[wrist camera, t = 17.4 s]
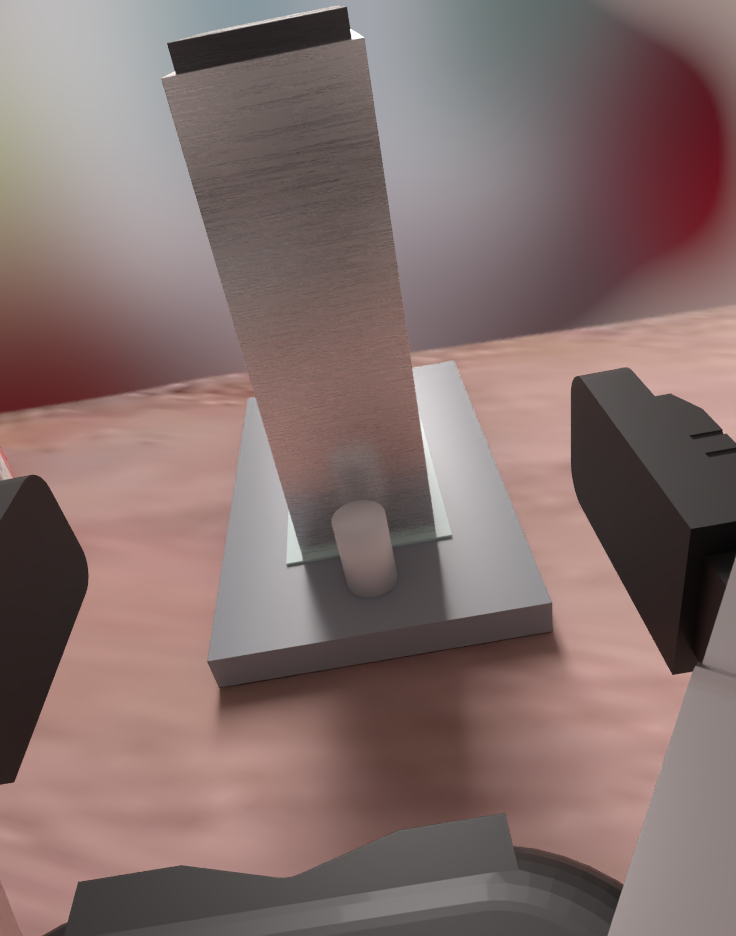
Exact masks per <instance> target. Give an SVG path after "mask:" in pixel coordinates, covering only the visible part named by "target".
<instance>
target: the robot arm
mask: <svg viewBox="0 0 736 936" xmlns="http://www.w3.org/2000/svg"><path fill="white" fill-rule="evenodd" d="M571 470H572V478H573V484H574V488H575V492H576V495H577V498H578V501H579V503H580V505H581V507H582V509H583V511H584V513H585V515H586V516H587V518H588V520H589V522H590V524H591V526H592V527H593V529H594V531H595V533H596V535H597V537H598V538H599V540H600V542H601V544H602V546H603V548H604V550H605V551H606V553H607V555H608V557H609V559H610V561H611V562H612V564H613V566H614V568H615V570H616V572H617V573H618V575H619V577H620V579H621V581H622V583H623V584H624V586H625V588H626V590H627V592H628V594H629V596H630V597H631V599H632V601H633V603H634V605H635V607H636V608H637V610H638V612H639V614H640V616H641V618H642V619H643V621H644V623H645V625H646V627H647V629H648V631H649V632H650V634H651V636H652V638H653V640H654V642H655V643H656V645H657V647H658V649H659V651H660V653H661V654H662V656H663V658H664V660H665V662H666V664H667V666H668V667H669V669H670V671H671V673H672V675H675V674H680V673H686V672H692V671H693V673H692V675H691V678H690V681H689V684H688V687H687V690H686V693H685V697H684V700H683V703H682V706H681V709H680V712H679V715H678V718H677V721H676V724H675V728H674V731H673V734H672V737H671V740H670V743H669V746H668V749H667V752H666V755H665V759H664V762H663V765H662V768H661V771H660V774H659V777H658V780H657V783H656V787H655V790H654V793H653V796H652V799H651V802H650V805H649V808H648V811H647V814H646V818H645V821H644V824H643V827H642V830H641V833H640V836H639V839H638V842H637V845H636V849H635V852H634V855H633V858H632V861H631V864H630V867H629V870H628V873H627V877H626V880H625V883H624V885H623V884H622V883H620V882H619V881H617V880H615V879H613V878H612V877H610V876H608V875H606V874H604V873H602V872H600V871H598V870H596V869H594V868H592V867H590V866H588V865H585V864H583V863H580V862H577V861H575V860H572V859H570V858H567V857H564V856H561V855H557V854H554V853H550V852H546V851H542V850H538V849H532V848H524V847H516V846H513V844H512V840H511V836H510V832H509V828H508V824H507V819H506V815H505V813H502V814H496V815H490V816H484V817H477V818H471V819H465V820H459V821H453V822H447V823H440V824H434V825H428V826H422V827H416V828H409V829H403V830H398V831H396V832H393V833H391V834H389V835H387V836H384V837H382V838H380V839H378V840H375V841H373V842H371V843H369V844H366V845H364V846H362V847H360V848H357V849H355V850H353V851H351V852H348V853H346V854H344V855H342V856H339V857H337V858H335V859H333V860H330V861H328V862H326V863H324V864H321V865H319V866H317V867H315V868H312V869H310V870H308V871H306V872H303V873H301V874H299V875H296V876H293V877H287V878H276V877H268V876H260V875H252V874H245V873H237V872H229V871H221V870H213V869H206V868H198V867H190V866H182V865H181V866H175V867H168V868H162V869H156V870H150V871H144V872H137V873H131V874H125V875H119V876H113V877H107V878H100V879H94V880H88V881H82V882H78V885H77V889H76V892H75V896H74V900H73V904H72V908H71V911H70V915H69V919H68V922H67V923H65V924H63V925H60V926H59V927H57V928H55V929H53V930H52V931H50V932H48V933H46V934H45V935H43V936H736V443H735V442H734V441H733V440H732V439H731V438H730V437H729V436H728V435H727V434H723V432H722V429H721V428H720V427H719V425H718V424H717V423H716V422H715V421H714V420H713V419H712V418H711V417H710V416H709V415H708V414H707V413H706V412H705V411H704V410H703V409H702V408H700V407H697V406H695V405H693V404H691V403H689V402H687V401H685V400H683V399H681V398H678V397H676V396H674V395H672V394H666V395H660V396H654V395H653V394H652V393H651V391H650V390H649V389H648V388H647V387H646V386H645V385H644V384H643V382H642V381H641V380H640V379H639V378H638V377H637V376H636V374H635V373H634V372H633V371H632V370H631V369H629V368H620V369H614V370H609V371H603V372H598V373H593V374H587V375H582V376H576V377H575V378H574V379H573V382H572V387H571ZM87 587H88V566H87V561H86V557H85V555H84V552H83V550H82V548H81V546H80V544H79V542H78V540H77V538H76V537H75V535H74V533H73V531H72V529H71V527H70V525H69V523H68V522H67V520H66V518H65V516H64V514H63V512H62V510H61V508H60V507H59V505H58V503H57V501H56V499H55V497H54V495H53V493H52V492H51V490H50V488H49V486H48V485H47V483H46V482H45V481H44V480H43V479H42V478H41V477H39V476H37V475H29V476H23V477H18V478H12V479H7V480H1V481H0V785H1V784H7V783H13V782H14V781H15V779H16V776H17V774H18V771H19V768H20V766H21V763H22V760H23V758H24V755H25V752H26V750H27V747H28V745H29V742H30V739H31V737H32V734H33V731H34V729H35V726H36V723H37V721H38V718H39V715H40V713H41V710H42V708H43V705H44V702H45V700H46V697H47V694H48V692H49V689H50V686H51V684H52V681H53V678H54V676H55V673H56V671H57V668H58V665H59V663H60V660H61V657H62V655H63V652H64V649H65V647H66V644H67V641H68V639H69V636H70V634H71V631H72V628H73V626H74V623H75V620H76V618H77V615H78V612H79V610H80V607H81V604H82V602H83V599H84V597H85V594H86V591H87ZM0 936H23V935H22V933H21V931H20V929H19V927H18V924H17V922H16V919H15V917H14V914H13V912H12V909H11V907H10V904H9V902H8V899H7V896H6V894H5V891H4V889H3V886H2V884H1V881H0Z"/></svg>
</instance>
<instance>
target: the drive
mask: <svg viewBox="0 0 736 936" xmlns="http://www.w3.org/2000/svg"><path fill="white" fill-rule="evenodd" d="M167 45H168V48H169V51H170V55H171V59H172V62H173V65H174V69H175V72H173V73H171V74H169V75H167V76H165V77H163V78H161V80H162V83H163V87H164V90H165V93H166V97H167V100H168V104H169V107H170V110H171V114H172V117H173V120H174V124H175V127H176V131H177V134H178V137H179V141H180V144H181V148H182V151H183V154H184V158H185V161H186V164H187V167H188V171H189V175H190V178H191V181H192V185H193V188H194V191H195V195H196V198H197V201H198V205H199V208H200V212H201V215H202V219H203V222H204V225H205V229H206V232H207V235H208V239H209V242H210V246H211V249H212V252H213V256H214V259H215V263H216V266H217V269H218V272H219V276H220V279H221V283H222V286H223V290H224V293H225V296H226V300H227V303H228V307H229V310H230V313H231V317H232V320H233V323H234V327H235V330H236V334H237V337H238V340H239V343H240V347H241V350H242V354H243V357H244V361H245V364H246V367H247V371H248V374H249V378H250V381H251V384H252V388H253V391H254V394H255V398H256V401H257V405H258V408H259V411H260V415H261V418H262V422H263V425H264V428H265V432H266V435H267V438H268V442H269V445H270V449H271V452H272V455H273V459H274V462H275V466H276V469H277V472H278V476H279V479H280V482H281V486H282V489H283V493H284V496H285V499H286V503H287V506H288V509H289V513H290V516H291V520H292V523H293V526H294V530H295V533H296V537H297V540H298V543H299V547H300V550H301V553H302V554H308V553H314V552H319V551H325V550H331V549H336V548H338V547H337V543H336V539H335V535H334V531H333V527H332V522H331V521H332V517H333V515H334V513H335V512H336V511H337V510H338V509H339V508H340V507H342V506H343V505H345V504H348V503H350V502H354V501H359V500H369V501H374V502H377V503H379V504H380V505H381V506H382V507H383V508H384V510H385V513H386V518H387V523H388V528H389V534H390V539H394V538H399V537H405V536H411V535H416V534H422V533H428V532H433V531H436V529H435V522H434V515H433V509H432V502H431V495H430V488H429V481H428V474H427V467H426V460H425V453H424V446H423V439H422V433H421V426H420V419H419V412H418V405H417V398H416V391H415V384H414V377H413V370H412V364H411V357H410V350H409V344H408V336H407V329H406V322H405V315H404V309H403V302H402V295H401V288H400V281H399V274H398V267H397V260H396V253H395V246H394V240H393V233H392V225H391V219H390V212H389V205H388V198H387V191H386V185H385V177H384V171H383V163H382V157H381V150H380V143H379V136H378V129H377V122H376V115H375V109H374V101H373V94H372V88H371V81H370V74H369V67H368V60H367V53H366V46H365V39H364V37H363V36H361V35H360V34H358V33H356V32H355V31H353V30H351V29H350V25H349V18H348V12H347V7H345V6H332V7H327V8H322V9H317V10H313V11H308V12H303V13H298V14H293V15H289V16H284V17H278V18H273V19H269V20H263V21H258V22H253V23H249V24H244V25H239V26H234V27H229V28H224V29H220V30H214V31H209V32H205V33H202V34H198V35H194V36H191V37H187V38H183V39H180V40H176V41H173V42H169V43H167Z"/></svg>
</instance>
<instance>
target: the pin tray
mask: <svg viewBox="0 0 736 936" xmlns="http://www.w3.org/2000/svg"><path fill="white" fill-rule="evenodd" d="M412 370H413V377H414V384H415V391H416V398H417V405H418V412H419V419H420V426H421V433H422V439H423V446H424V453H425V460H426V467H427V474H428V481H429V488H430V495H431V502H432V509H433V515H434V522H435V529H436V531H433V532H428V533H422V534H416V535H411V536H405V537H399V538H394V539H390V534H389V528H388V523H387V518H386V513H385V510H384V508H383V507H382V506H381V505H380V504H379V503H377V502H374V501H369V500H359V501H354V502H350V503H348V504H345V505H343V506H342V507H340V508H339V509H338V510H337V511H336V512H335V513H334V515H333V517H332V521H331V522H332V527H333V531H334V535H335V539H336V543H337V547H338V548H336V549H331V550H325V551H319V552H314V553H308V554H302V553H301V550H300V547H299V543H298V540H297V537H296V533H295V530H294V526H293V523H292V520H291V516H290V513H289V509H288V506H287V503H286V499H285V496H284V493H283V489H282V486H281V482H280V479H279V476H278V472H277V469H276V466H275V462H274V459H273V455H272V452H271V449H270V445H269V442H268V438H267V435H266V432H265V428H264V425H263V422H262V418H261V415H260V411H259V408H258V405H257V401H256V398H255V397H252V398H248V401H247V408H246V414H245V421H244V427H243V434H242V440H241V446H240V453H239V459H238V466H237V472H236V479H235V485H234V492H233V498H232V505H231V511H230V517H229V524H228V530H227V537H226V543H225V550H224V556H223V563H222V569H221V576H220V582H219V588H218V595H217V601H216V608H215V614H214V621H213V627H212V634H211V640H210V647H209V653H208V659H207V662H208V664H209V666H210V669H211V671H212V673H213V675H214V677H215V680H216V682H217V684H218V686H219V688H220V687H226V686H232V685H238V684H244V683H250V682H256V681H262V680H268V679H274V678H279V677H285V676H291V675H297V674H303V673H309V672H315V671H321V670H327V669H333V668H339V667H345V666H350V665H356V664H362V663H368V662H374V661H380V660H386V659H392V658H398V657H404V656H410V655H415V654H421V653H427V652H433V651H439V650H445V649H451V648H457V647H463V646H469V645H475V644H481V643H486V642H492V641H498V640H504V639H510V638H516V637H522V636H528V635H534V634H540V633H546V632H551V631H553V627H552V601H551V599H550V596H549V594H548V592H547V589H546V587H545V584H544V582H543V579H542V577H541V574H540V572H539V569H538V567H537V564H536V562H535V559H534V557H533V555H532V552H531V550H530V547H529V545H528V542H527V540H526V537H525V535H524V532H523V530H522V527H521V525H520V522H519V520H518V517H517V515H516V513H515V510H514V508H513V505H512V503H511V500H510V498H509V495H508V493H507V490H506V488H505V485H504V483H503V480H502V478H501V476H500V473H499V471H498V468H497V466H496V463H495V461H494V458H493V456H492V453H491V451H490V448H489V446H488V443H487V441H486V438H485V436H484V434H483V431H482V429H481V426H480V424H479V421H478V419H477V416H476V414H475V411H474V409H473V406H472V404H471V401H470V399H469V397H468V394H467V392H466V389H465V387H464V384H463V382H462V379H461V377H460V374H459V372H458V369H457V367H456V364H455V362H454V360H453V361H448V362H442V363H437V364H431V365H426V366H420V367H415V368H412Z"/></svg>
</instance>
